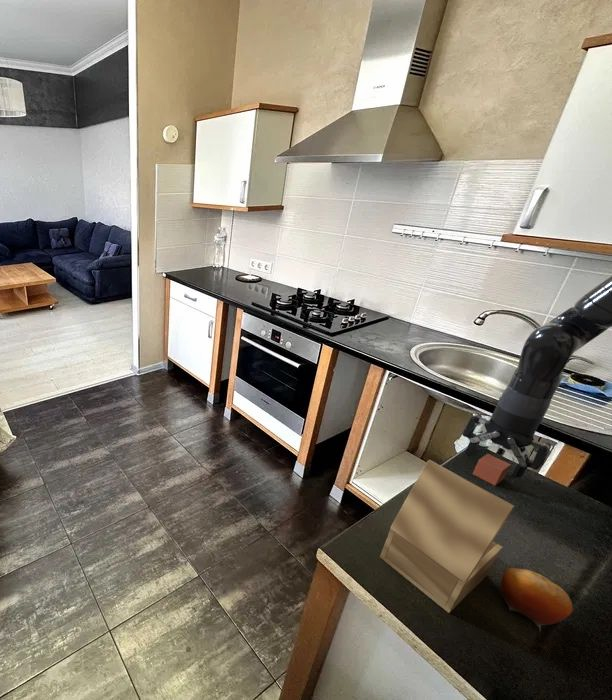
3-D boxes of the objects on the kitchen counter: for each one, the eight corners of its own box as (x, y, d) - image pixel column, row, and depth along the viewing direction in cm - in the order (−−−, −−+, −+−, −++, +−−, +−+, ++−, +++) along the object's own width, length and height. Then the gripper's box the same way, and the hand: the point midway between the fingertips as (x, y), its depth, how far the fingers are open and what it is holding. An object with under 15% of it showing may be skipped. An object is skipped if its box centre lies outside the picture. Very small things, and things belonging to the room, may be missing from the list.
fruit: (494, 610, 61) (513, 564, 60) (489, 596, 67) (507, 555, 66) (565, 650, 55) (586, 601, 55) (553, 632, 61) (572, 587, 61)
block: (481, 467, 93) (487, 453, 91) (503, 479, 90) (511, 464, 88) (472, 473, 91) (479, 459, 89) (495, 485, 88) (502, 470, 86)
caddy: (418, 527, 77) (429, 501, 74) (487, 575, 68) (503, 547, 65) (379, 557, 71) (390, 529, 68) (448, 613, 61) (464, 584, 58)
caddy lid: (429, 459, 64) (428, 459, 64) (515, 506, 55) (513, 506, 55) (391, 527, 68) (389, 528, 67) (466, 582, 59) (464, 583, 58)
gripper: (571, 420, 79) (536, 478, 85) (489, 389, 90) (464, 443, 97) (558, 430, 75) (523, 490, 82) (474, 397, 86) (449, 452, 93)
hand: (491, 465), depth 89 cm, fingers open, 8 cm apart
